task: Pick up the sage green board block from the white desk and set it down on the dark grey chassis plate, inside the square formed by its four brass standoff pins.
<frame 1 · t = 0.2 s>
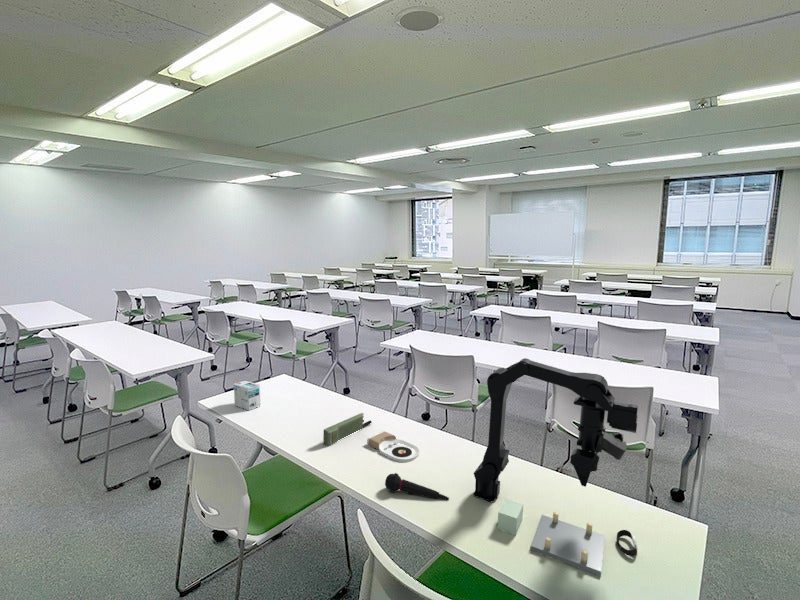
hand: (586, 477, 111), 14 cm above the table, tool pointing down, fingers open, 9 cm apart
chassis: (568, 544, 105), on the table
light bulb box: (247, 406, 191), on the table
board block: (510, 524, 113), on the table
microphone: (414, 496, 125), on the table
watch: (626, 548, 105), on the table
record player: (394, 451, 153), on the table
handheld radio: (349, 435, 164), on the table
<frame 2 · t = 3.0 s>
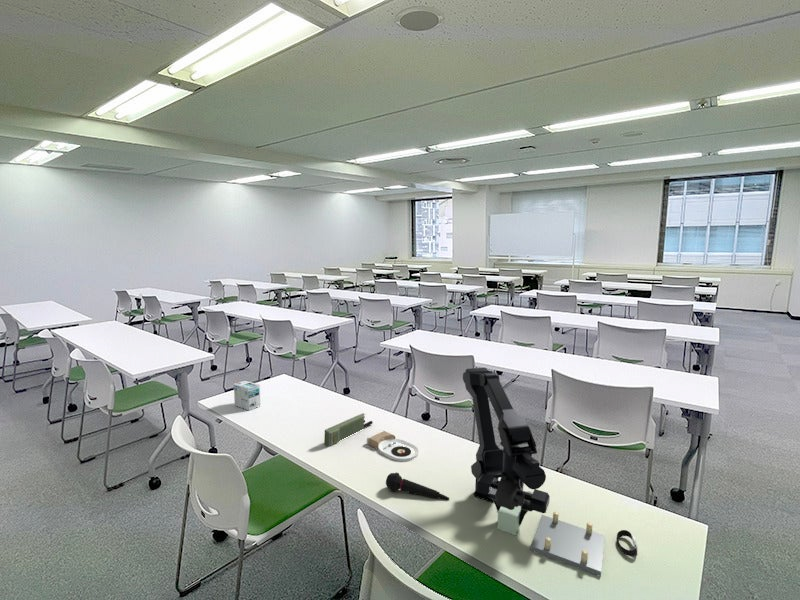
hand: (510, 520, 113), 1 cm above the table, tool pointing down, fingers closed on board block, 5 cm apart
board block: (510, 524, 113), on the table, touching gripper
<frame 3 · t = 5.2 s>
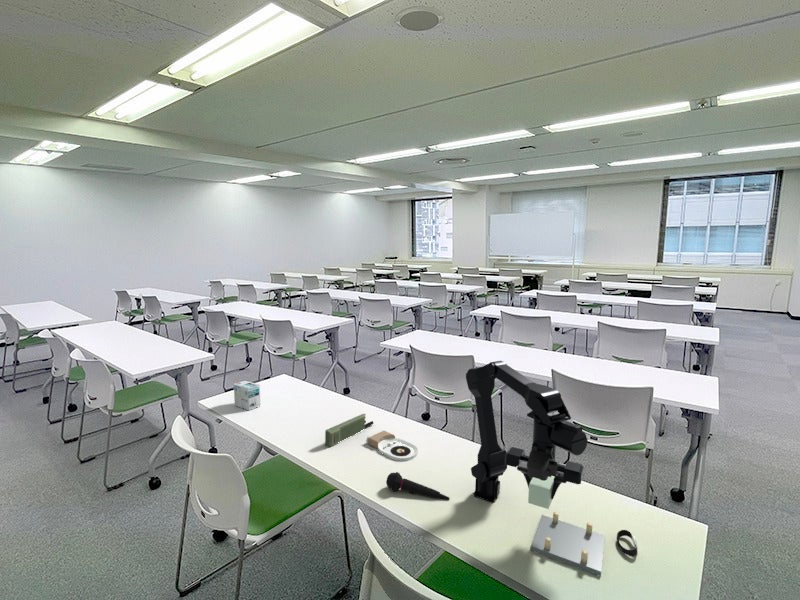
hand: (541, 495, 107), 11 cm above the table, tool pointing down, fingers closed on board block, 5 cm apart
board block: (541, 499, 107), point 10 cm above the table, touching gripper
when the fingers open (3 cm above the table, at t = 7.5 s): board block drops 1 cm, resting on chassis.
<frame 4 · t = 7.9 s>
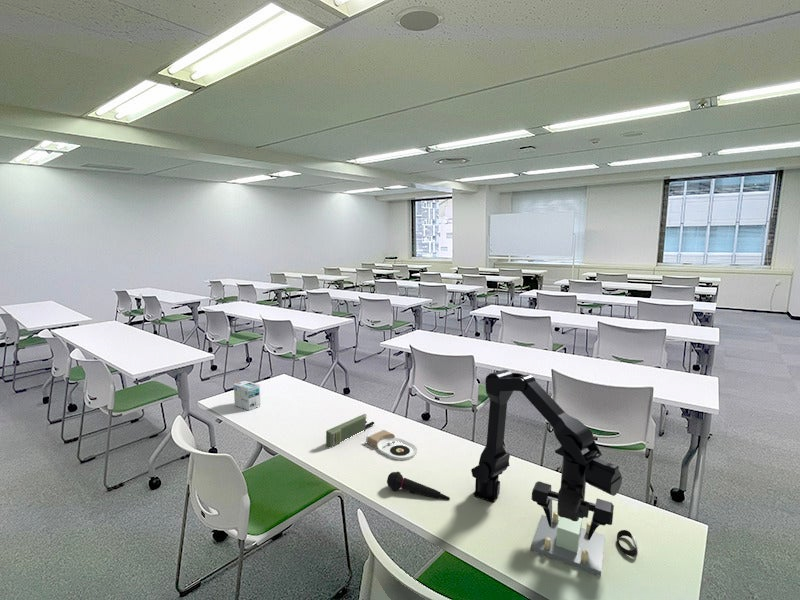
hand: (569, 532, 105), 3 cm above the table, tool pointing down, fingers open, 9 cm apart
board block: (568, 540, 105), point 1 cm above the table, touching chassis
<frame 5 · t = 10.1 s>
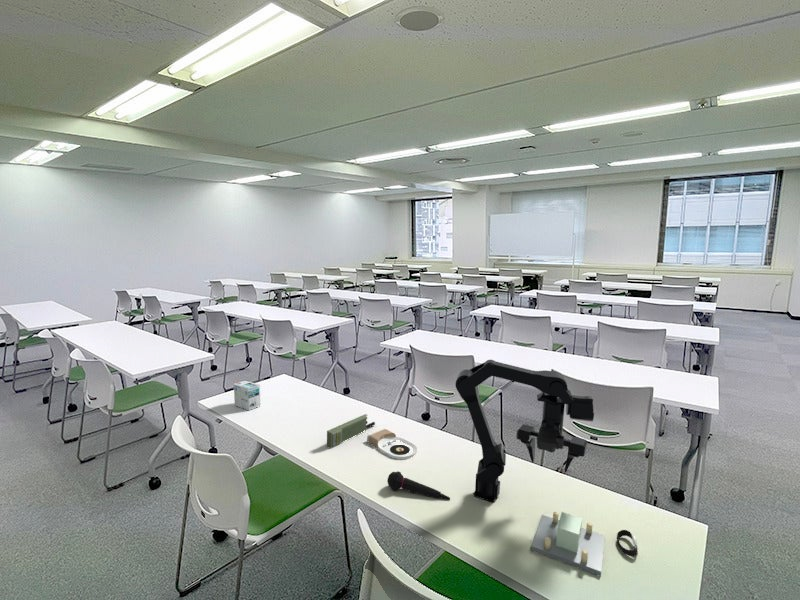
hand: (548, 466, 120), 12 cm above the table, tool pointing down, fingers open, 9 cm apart
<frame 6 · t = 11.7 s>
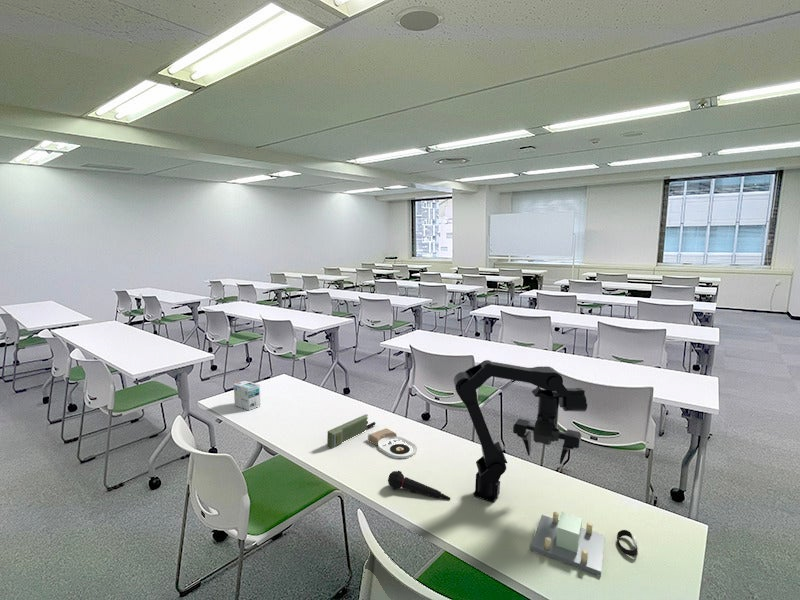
hand: (544, 459, 124), 12 cm above the table, tool pointing down, fingers open, 9 cm apart
at the end: board block 0.1 cm off-centre on the chassis, point 1.2 cm above the chassis's base; board block tilted 0°; the gripper is holding nothing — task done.
